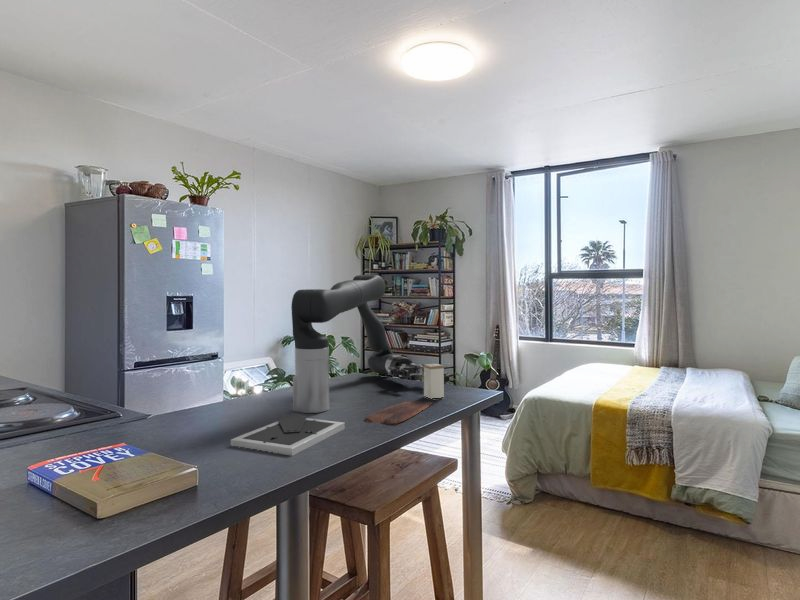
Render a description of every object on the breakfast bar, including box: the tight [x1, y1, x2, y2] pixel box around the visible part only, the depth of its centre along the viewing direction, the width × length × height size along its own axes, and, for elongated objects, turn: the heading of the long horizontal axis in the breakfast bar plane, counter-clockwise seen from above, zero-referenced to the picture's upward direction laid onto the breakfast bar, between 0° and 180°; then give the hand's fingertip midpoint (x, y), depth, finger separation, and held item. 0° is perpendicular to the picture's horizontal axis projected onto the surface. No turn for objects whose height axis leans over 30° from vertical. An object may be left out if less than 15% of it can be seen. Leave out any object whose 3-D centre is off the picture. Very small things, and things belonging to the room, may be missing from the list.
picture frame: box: [230, 412, 346, 457], centre depth 109 cm, size 16×3×21 cm
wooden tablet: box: [364, 400, 434, 426], centre depth 132 cm, size 26×2×10 cm
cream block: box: [423, 363, 445, 399], centre depth 149 cm, size 5×5×10 cm
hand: (419, 373), depth 158 cm, fingers open, 8 cm apart
